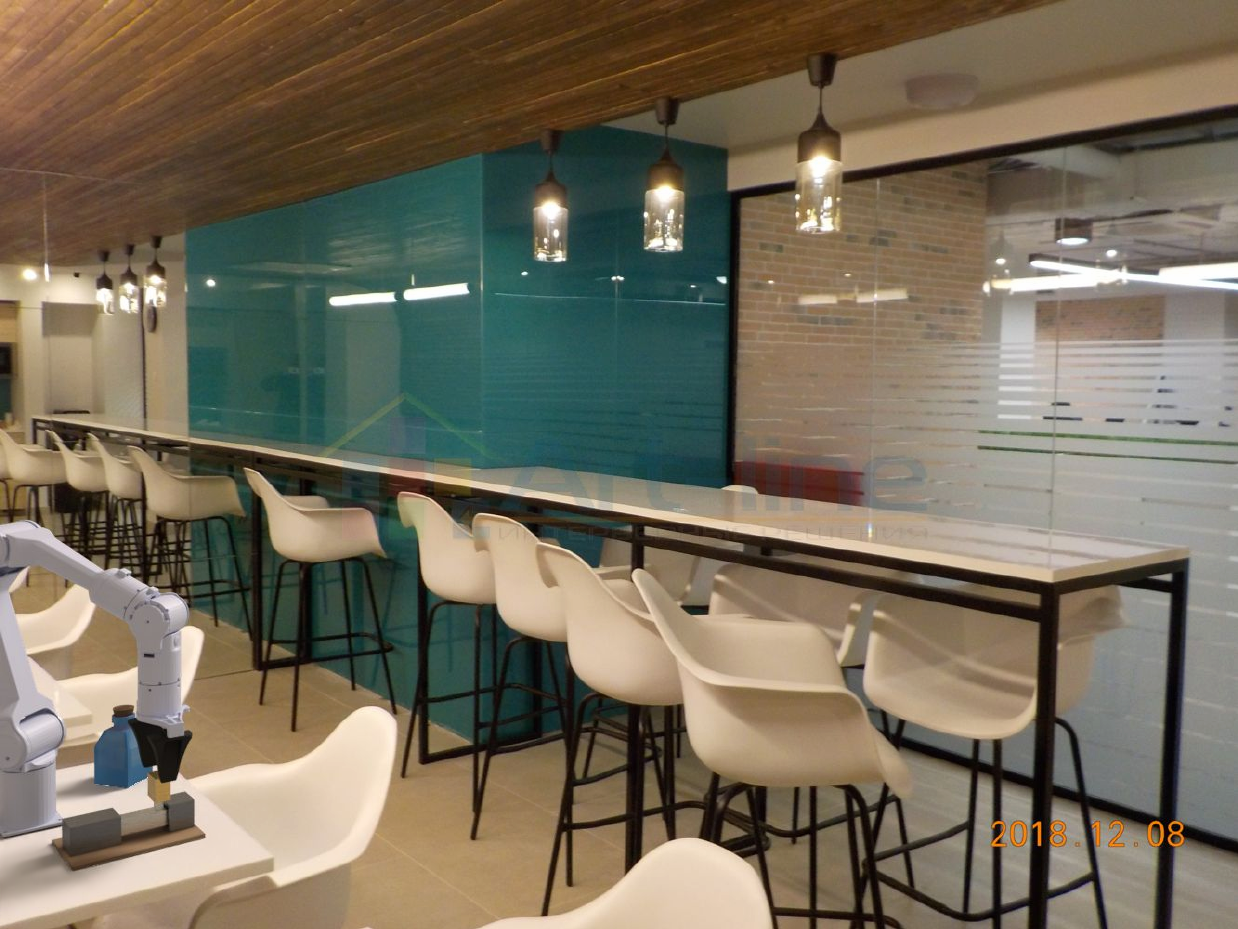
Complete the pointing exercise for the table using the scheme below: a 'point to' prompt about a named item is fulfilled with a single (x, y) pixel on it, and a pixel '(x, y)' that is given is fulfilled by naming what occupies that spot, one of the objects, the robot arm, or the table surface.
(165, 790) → the pale bar
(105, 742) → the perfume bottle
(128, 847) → the walnut board
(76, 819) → the sleeve and socket
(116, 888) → the table surface
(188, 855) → the table surface
